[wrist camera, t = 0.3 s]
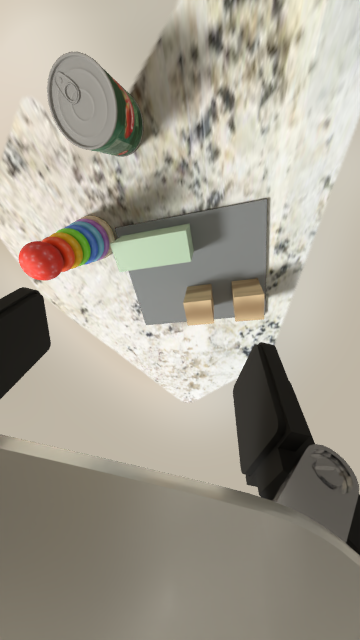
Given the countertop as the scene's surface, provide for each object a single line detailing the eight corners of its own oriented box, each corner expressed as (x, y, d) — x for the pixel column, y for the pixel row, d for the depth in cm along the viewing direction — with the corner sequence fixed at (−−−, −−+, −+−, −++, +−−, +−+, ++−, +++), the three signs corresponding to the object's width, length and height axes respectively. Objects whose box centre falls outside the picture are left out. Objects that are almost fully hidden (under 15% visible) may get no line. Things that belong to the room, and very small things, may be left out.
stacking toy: (124, 242, 43) (74, 280, 28) (97, 264, 46) (39, 308, 31) (95, 205, 40) (20, 224, 25) (69, 231, 43) (-12, 262, 28)
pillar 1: (187, 286, 46) (183, 302, 40) (211, 283, 45) (210, 299, 39) (191, 307, 48) (187, 325, 43) (213, 305, 47) (213, 323, 42)
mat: (116, 227, 42) (114, 228, 41) (266, 198, 36) (266, 199, 36) (146, 323, 53) (146, 325, 53) (264, 313, 48) (265, 314, 47)
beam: (122, 235, 42) (109, 243, 37) (189, 223, 39) (185, 230, 34) (130, 261, 44) (119, 272, 40) (193, 251, 42) (191, 261, 37)
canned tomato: (154, 122, 33) (130, 102, 24) (124, 169, 37) (93, 166, 27) (111, 70, 30) (66, 25, 21) (83, 126, 34) (35, 107, 25)
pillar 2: (231, 281, 44) (233, 297, 38) (257, 278, 43) (264, 294, 37) (233, 303, 47) (235, 321, 41) (257, 300, 46) (264, 319, 40)
